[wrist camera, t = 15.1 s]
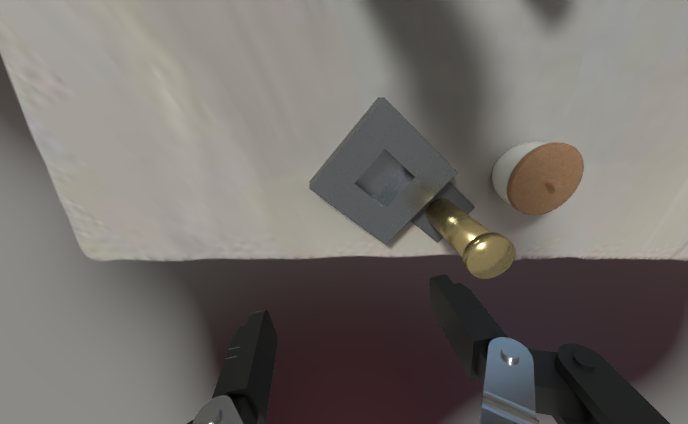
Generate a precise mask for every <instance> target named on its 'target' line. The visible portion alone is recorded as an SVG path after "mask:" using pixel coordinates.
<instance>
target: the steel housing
mask: <svg viewBox="0 0 688 424" xmlns="http://www.w3.org/2000/svg"><path fill="white" fill-rule="evenodd" d="M457 173H458V172H457V171H456V170H455V169H454V168H453V167H452V166H451V165H450V164H449V163H448V162H447V161H446V160H445V159H444V158H443V157H442V156H441V155H440V154H439V153H438V152H437V151H436V150H435V149H434V148H433V147H432V146H431V145H430V144H429V143H428V142H427V141H426V140H425V139H424V138H423V137H422V136H421V135H420V133H419V132H418V131H417V130H416V129H415V128H414V127H413V126H412V125H411V124H410V123H409V122H408V121H407V120H406V119H405V118H404V117H403V116H402V115H401V114H400V113H399V112H398V111H397V110H396V109H395V108H394V107H393V106H392V105H391V104H390V103H389V102H388V101H387V100H386V99H385V98H377V100H376V101H375V102H374V103H373V105H372V106H371V107H370V108H369V110H368V111H367V112H366V113H365V114H364V116H363V117H362V118H361V119H360V121H359V122H358V123H357V124H356V125H355V127H354V128H353V129H352V130H351V132H350V133H349V134H348V135H347V136H346V138H345V139H344V140H343V141H342V143H341V144H340V145H339V146H338V147H337V149H336V150H335V151H334V152H333V154H332V155H331V156H330V157H329V159H328V160H327V161H326V162H325V163H324V165H323V166H322V167H321V168H320V170H319V171H318V172H317V173H316V174H315V176H314V177H313V178H312V179H311V181H310V189H311V190H312V191H313V192H315V193H316V194H317V195H319V196H320V197H322V198H323V199H324V200H326V201H327V202H328V203H330V204H331V205H332V206H334V207H335V208H337V209H338V210H339V211H341V212H342V213H343V214H345V215H346V216H347V217H349V218H350V219H352V220H353V221H354V222H356V223H357V224H358V225H360V226H361V227H362V228H364V229H365V230H366V231H368V232H369V233H371V234H372V235H373V236H375V237H376V238H377V239H379V240H380V241H381V242H383V243H384V244H387V243H388V242H389V241H390V240H391V239H392V238H393V237H394V236H395V235H396V234H397V233H398V232H399V231H400V230H401V229H402V228H403V227H404V226H405V225H406V224H407V223H408V222H409V221H410V220H411V219H412V218H413V217H414V216H415V215H416V214H417V213H418V212H419V211H420V210H421V209H422V208H423V207H424V206H425V205H426V204H427V203H428V202H429V201H430V200H431V199H432V198H433V197H434V196H435V195H436V194H437V193H438V192H439V191H440V190H441V189H442V188H443V187H444V186H445V185H446V184H447V183H448V182H449V181H450V180H451V179H452V178H453V177H454V176H455V175H456V174H457Z"/></svg>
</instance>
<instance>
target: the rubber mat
mask: <svg viewBox="0 0 688 424" xmlns="http://www.w3.org/2000/svg"><path fill="white" fill-rule="evenodd" d="M439 198H446V199H448V200H450V201H451V202H452V203H454V204H455V205H456V206H458V207H459V208H460V209H461V210H463V211H464V212H465V213H467V214H468V213H469V212H470V211H472V210H473V209H474V208H475V207H474V206H473V205H472V204H471V203H470V202H469V201H468V200H467V199H466V198H465V197H464V196H463V195H462V194H461V193H460V192H459V191H458V190H457V189H456V188H455V187H454V186H453V185H452V184H451V183H450V182H448V183H447V184H446V185H445V186H444V187H443V188H442V189H441V190H440V191H439V192H438V193H437V194H436V195H435V196H434V197H433V198H432V199H431V200H430V201H429V202H428V203H427V204H426V205H425V206H424V207H423V208H422V209H421V210H420V211H419V212H418V213H417V214H416V215H415V216H414V217H413V218H412V219H411V221H412V222H414V223H415V224H416V225H417V226H419V227H420V228H421V229H422V230H423V231H425V232H426V233H427V234H428V235H429V236H431V237H432V238H433V239H434V240H436V241H437V242H438V241H439V240H440V239H442V238H443V236H442V235H441V234H440V233H439V232H438V231H437V229H436V228H435V227H434V226H433V225H432V224H431V223H430V222H429V221H428V219H427V217H426V210H427V208H428V206H429V205H430V203H432V202H433V201H434V200H436V199H439Z"/></svg>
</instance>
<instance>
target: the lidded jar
mask: <svg viewBox="0 0 688 424" xmlns="http://www.w3.org/2000/svg"><path fill="white" fill-rule="evenodd" d="M583 169H584V164H583V159H582V156H581V154H580V152H579V151H578V150H577V149H576V148H575V147H573V146H571V145H568V144H565V143H557V142H556V143H554V142H547V141H531V142H525V143H522V144H519V145H516V146H514V147H512V148H510V149H509V150H507V151H506V152H505V153H504V154H503V155H502V156H501V157H500V158H499V159H498V160H497V161H496V163H495V165H494V168H493V173H492V182H493V186H494V189H495V190H496V192H497V194H498V195H499V196H500V197H501V198H502V199H503V200H504V201H505V202H507V203H508V204H509V205H511V206H513V207H514V208H515V209H517V210H518V211H520V212H522V213H524V214H528V215H540V214H544V213H547V212H550V211H552V210H554V209H556V208H558V207H559V206H561V205H562V204H563V203H564V202H566V201H567V200H568V199H569V198H570V197H571V195H572V194H573V193H574V192H575V190H576V189H577V187H578V185H579V183H580V181H581V178H582V175H583Z"/></svg>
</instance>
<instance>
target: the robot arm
mask: <svg viewBox="0 0 688 424" xmlns="http://www.w3.org/2000/svg"><path fill="white" fill-rule="evenodd" d="M430 303H431V307H432V310H433V313H434V315H435V316H436V318H437V320H438V322H439V324H440V325H441V328H442V329H443V331H444V333H445V335H446V337H447V339H448V340H449V342H450V344H451V346H452V348H453V350H454V352H455V353H456V355H457V357H458V359H459V361H460V363H461V364H462V366H463V368H464V370H465V372H466V374H467V375H468V377H469V379H470V380H472V379H477V378H479V380H480V382H481V384H482V385H483V392H482V402H481V409H480V418H479V424H539V420H537V419H536V413H541V414H547V415H552V416H553V418H554V419H555V420H556V422H557V423H558V424H670V423H669V422H668V421H667V420H666V419H665V418H664V417H663V416H662V415H661V414H660V413H659V412H658V411H657V410H656V409H655V408H654V407H653V406H652V405H651V404H650V403H649V402H648V401H647V400H646V399H645V398H644V397H643V396H641V394H639V392H638V391H637V390H636V389H634V388H633V387H632V386H631V385H630V384H629V383H628V382H627V381H626V380H625V379H624V378H623V377H622V376H621V375H620V374H619V373H618V372H617V371H616V370H615V369H614V368H613V367H612V366H611V365H610V364H609V363H608V362H607V361H606V360H605V359H604V358H603V357H602V356H600V355H599V354H598V353H596V352H595V351H593V350H591V349H589V348H587V347H584V346H582V345H578V344H565V345H562V346H561V347H559V349H558V352H557V353H556V352H546V351H537V350H531V349H527V348H526V347H525V346H524V345H522V344H521V343H519V342H518V341H515V340H513V339H510V338H508V337H507V335H506V334H505V333H504V332H503V331H502V329H501V328H500V327H499V325H498V324H497V323H496V322H495V321H494V319H493V318H492V317H491V315H490V314H489V313H488V312H487V310H486V309H485V308H483V305H482V304H481V303H480V301H479V300H477V298H476V296H475V295H474V294H473V293H472V291H471V290H470V289H468V288H467V287H465V286H464V285H462V284H461V283H457V284H453V283H452V281H451V280H450V278H449V277H448V276H447V275H445V274H444V275H439V276H434V277H430ZM276 350H277V332H276V329H275V327H274V324H273V322H272V320H271V317H270V315H269V312H268V311H267V310H263V311H258V312H253V313H250V315H249V317H248V321H247V324H246V326H241V327H240V328H239V329H238V330H237V332H236V333H235V335H234V336H233V337H232V340H231V343H230V346H229V350H228V353H227V355H226V360H225V361H224V365H223V367H222V370H221V373H220V376H219V379H218V382H217V385H216V388H215V391H214V394H213V397H212V399H211V400H210V401H208V402H207V403H206V404H205V405H203V407H202V408H201V409H200V410H199V411H198V413H197V415H196V416H195V419H194V420H192V421H191V422H189V423H187V424H261V423H265V422H266V418H267V411H268V404H269V397H270V390H271V384H272V377H273V370H274V363H275V357H276Z"/></svg>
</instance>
